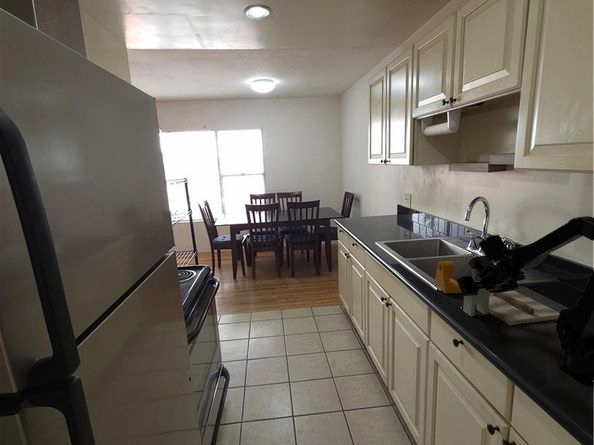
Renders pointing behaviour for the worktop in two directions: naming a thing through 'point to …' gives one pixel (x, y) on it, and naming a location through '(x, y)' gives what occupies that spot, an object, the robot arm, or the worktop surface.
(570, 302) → the worktop surface
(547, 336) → the worktop surface
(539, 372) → the worktop surface
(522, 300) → the cleat board
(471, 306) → the grey-green notched block
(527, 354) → the worktop surface
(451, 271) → the bracket
